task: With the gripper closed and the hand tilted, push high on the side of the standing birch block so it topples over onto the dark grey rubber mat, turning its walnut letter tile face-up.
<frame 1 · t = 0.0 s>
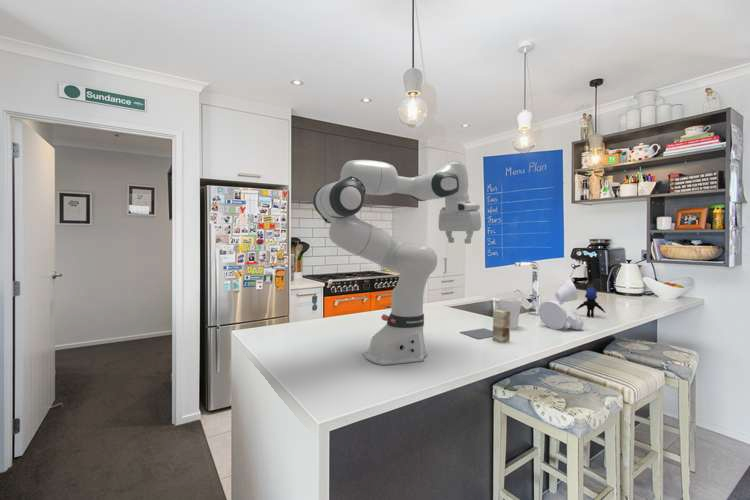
hand: (459, 243, 142), 39 cm above the counter, tool pointing down, fingers open, 8 cm apart
block: (501, 340, 149), on the counter
toy: (590, 317, 193), on the counter
light fixture: (557, 326, 173), on the counter
foam cup: (509, 328, 170), on the counter
mat: (481, 333, 159), on the counter
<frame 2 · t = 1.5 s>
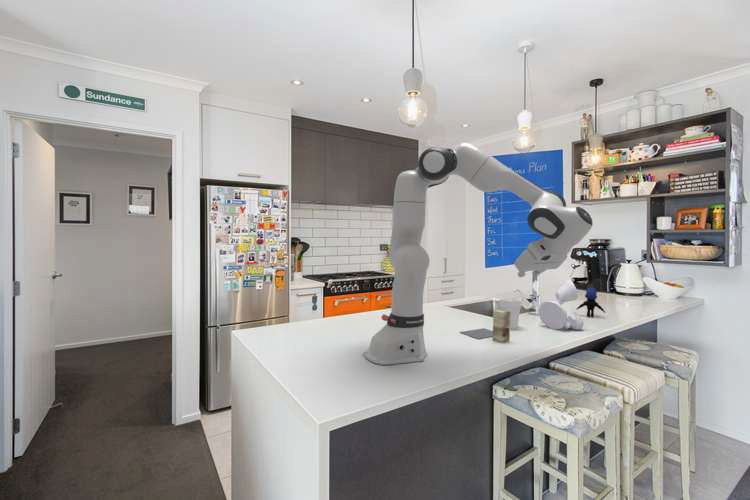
hand: (527, 275, 135), 28 cm above the counter, tool tilted 45°, fingers open, 6 cm apart
nothing on the counter moved.
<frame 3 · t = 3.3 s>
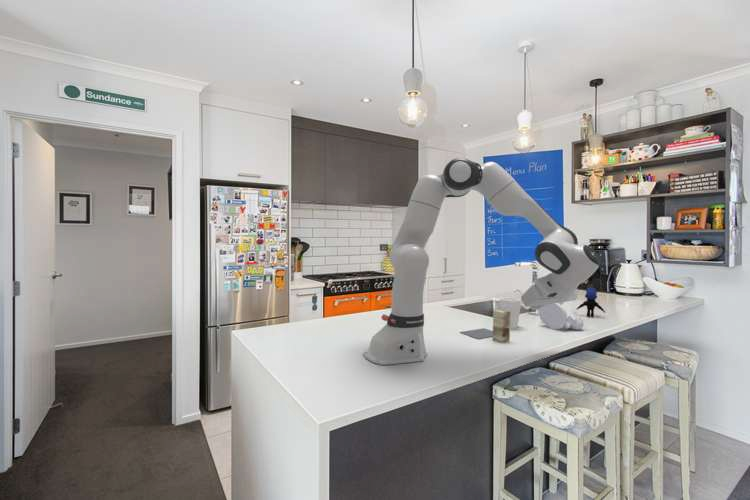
hand: (533, 308, 135), 16 cm above the counter, tool tilted 45°, fingers closed
nothing on the counter moved.
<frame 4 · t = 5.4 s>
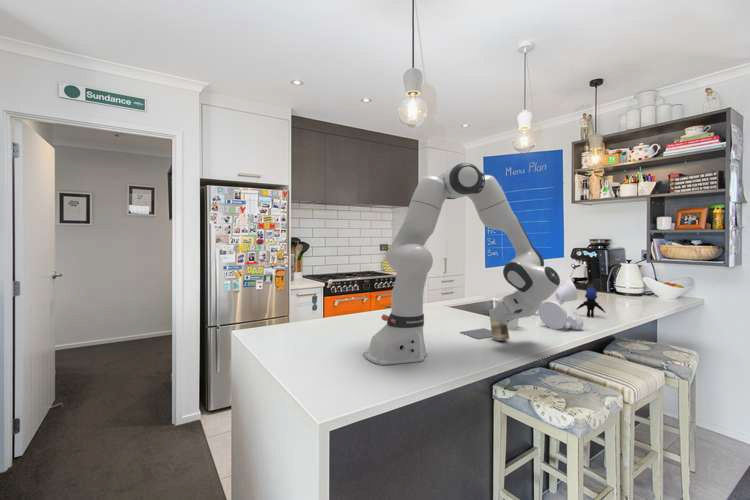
hand: (503, 322, 148), 8 cm above the counter, tool tilted 45°, fingers closed
block: (501, 339, 149), on the counter, tilted 11°
everything else where it was.
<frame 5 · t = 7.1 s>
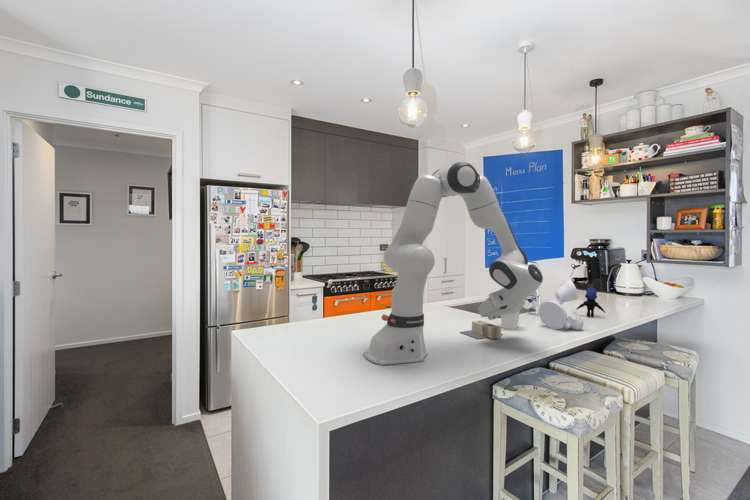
hand: (490, 318, 154), 8 cm above the counter, tool tilted 45°, fingers closed
block: (496, 333, 151), point 3 cm above the counter, tilted 90°, touching mat
everything else where it was.
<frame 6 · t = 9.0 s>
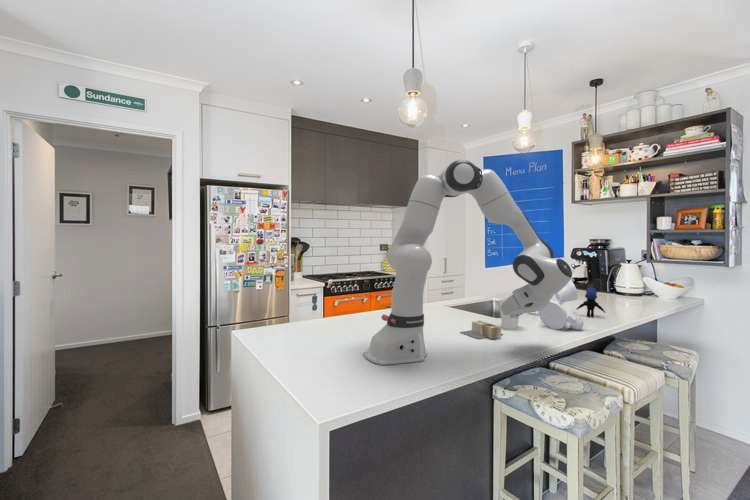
hand: (513, 316, 144), 11 cm above the counter, tool tilted 45°, fingers closed
nothing on the counter moved.
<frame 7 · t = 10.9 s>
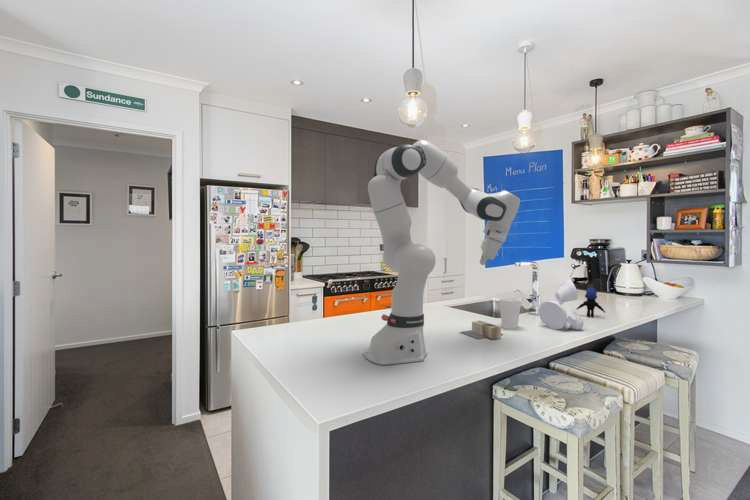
hand: (481, 263, 151), 30 cm above the counter, tool tilted 20°, fingers closed
nothing on the counter moved.
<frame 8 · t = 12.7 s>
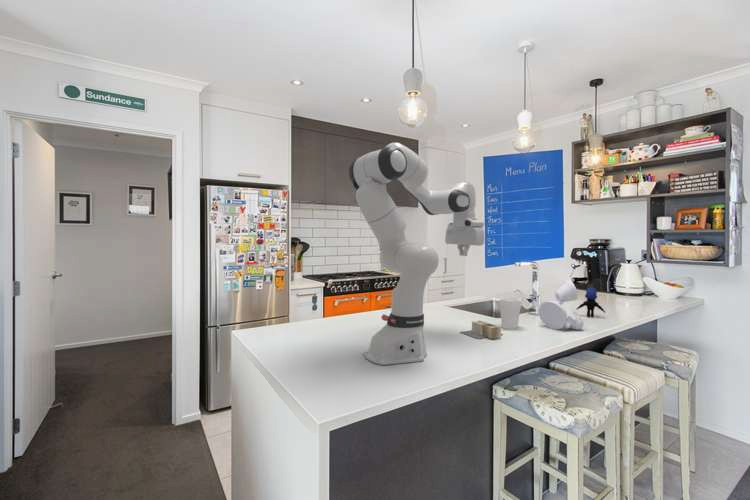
hand: (463, 255, 156), 33 cm above the counter, tool pointing down, fingers closed
nothing on the counter moved.
at the end: block tilted 90°; block inside the target area (6.4 cm from its centre), point 2.5 cm above the counter; the gripper is holding nothing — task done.
